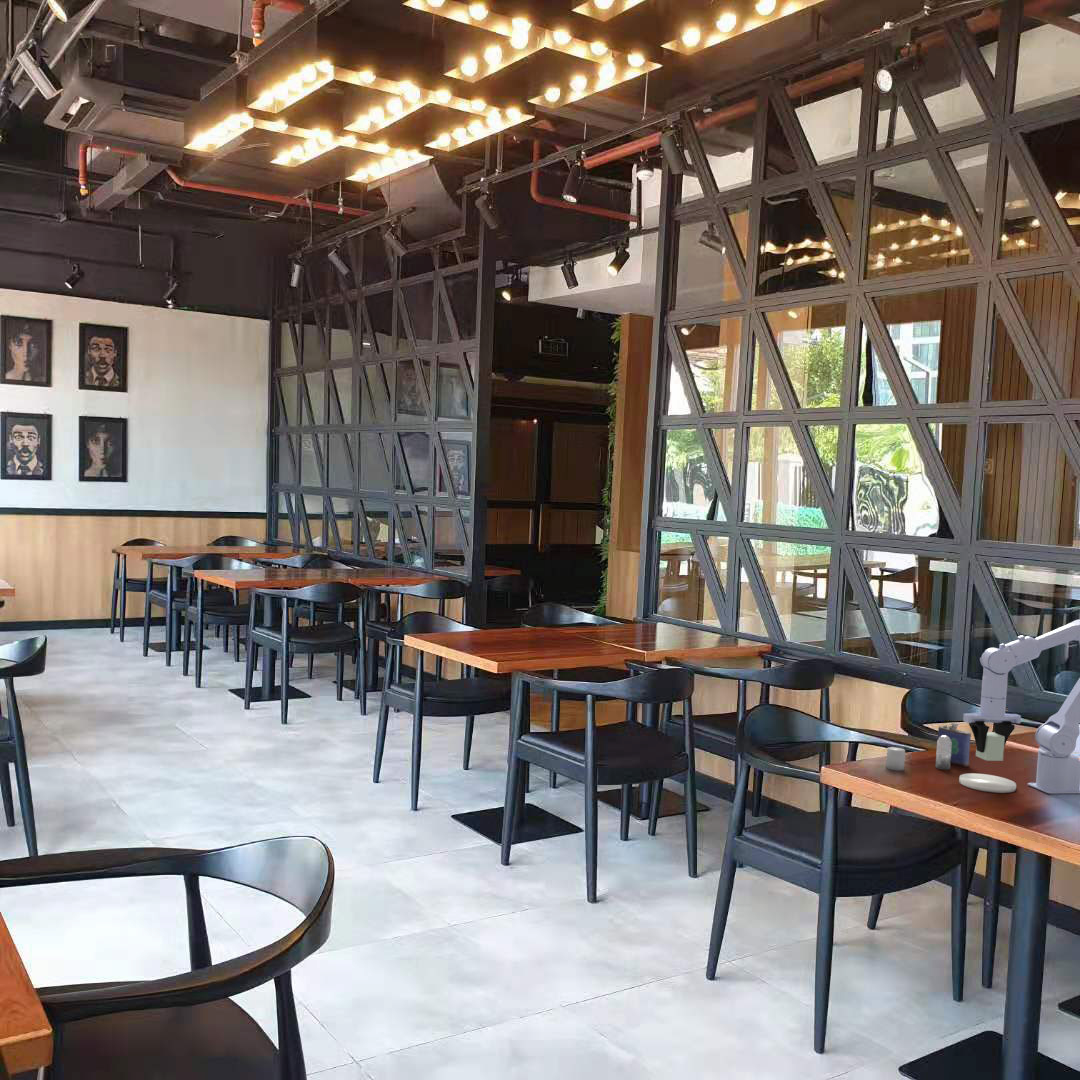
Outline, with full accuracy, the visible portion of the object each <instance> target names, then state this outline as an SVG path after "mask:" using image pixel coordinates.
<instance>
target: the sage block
mask: <svg viewBox="0 0 1080 1080" xmlns="http://www.w3.org/2000/svg"><path fill="white" fill-rule="evenodd" d="M1004 740H1005V736H1002V735H999V734H997V733H995V731H994V732H991V731H988V733H987V736H986V743H985V750H984V752H979V751H977V747H975V748H976V749H975V757H977V758H980V759H981V760H984V761H988V762H989V761H991V762H993V761H994V762H998V761H999V762H1000V761H1002V762H1004V751H1005V750H1004V749H1005V746H1004Z"/></svg>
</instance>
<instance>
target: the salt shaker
mask: <svg viewBox="0 0 1080 1080" xmlns="http://www.w3.org/2000/svg"><path fill="white" fill-rule="evenodd" d="M951 748H952V742H951V739H950V738H949V737H948V736H946V735H942V736H940V737H939V739H938V738H937V741H936V751H937V752H936V753H935V754H936V757H935V768H936V769H939V770H950V769H951Z"/></svg>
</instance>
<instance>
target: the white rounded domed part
mask: <svg viewBox="0 0 1080 1080" xmlns="http://www.w3.org/2000/svg"><path fill="white" fill-rule="evenodd" d="M905 756H906V750H905V749H904V748H900V747H895V746H894V747H892V746H890V747H887V748H886V760H885V761H886V763H885V764H886V765H885V768H886V769H888V770H890V771H896V772H897V771H898V772H899V771H900V772H902V771H904V769H905V761H906V760H905V758H906V757H905Z"/></svg>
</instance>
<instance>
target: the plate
mask: <svg viewBox="0 0 1080 1080" xmlns="http://www.w3.org/2000/svg"><path fill="white" fill-rule="evenodd" d="M958 782H959V784H961V785H962V786H964V787H967V788H969V789H972V790H977V791H981V792H988V793H999V794H1007V793H1008V794H1009V793H1013V792H1015V791H1016V790H1017V783H1016V782H1015V781H1013V780H1011V779H1008V778H1006V777H1002V776H997V775H992V774H986V773H973V772H971V773H963V774H960V775H959V779H958Z"/></svg>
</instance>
